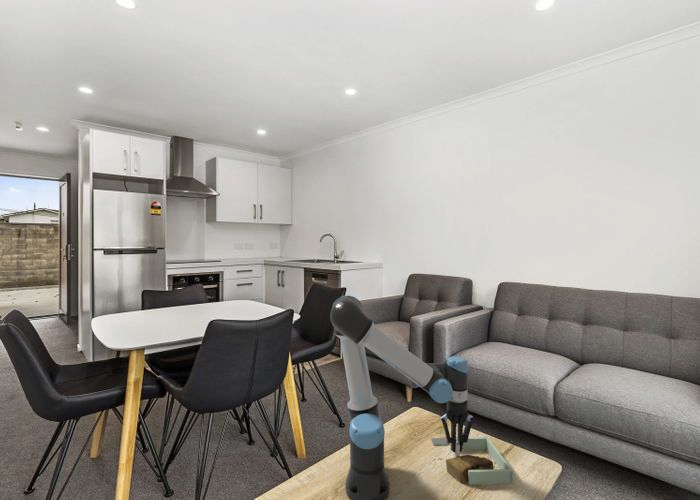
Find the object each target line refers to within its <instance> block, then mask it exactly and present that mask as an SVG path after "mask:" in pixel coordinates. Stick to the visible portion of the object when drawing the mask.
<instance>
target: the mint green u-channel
mask: <svg viewBox="0 0 700 500" xmlns="http://www.w3.org/2000/svg"><path fill="white" fill-rule="evenodd" d="M456 441H458V440H457V438H456ZM449 450H450V451H452V449H451V443H449ZM478 450H479V451H480V450H486V452H487V453H488V455H489V456H490V457H491V459H492V460H493V462H494V463H495V464H496V465H497V467H498V468H499V469H497V468H496V469H493V470H468V482H467V483H468V484H469V485H470V486H472V485H474V486H475V485H476V486H477V485H504V484H505V485H506V484H507V485H508V484H509V485H510V484H511V485H513V484H514V470H513V468H512V467H511V465H509V463H508V462H507V460H506V459H505V458H504V457H503V455H502V454H501V453H500V451H499V450H498V449H497V447H496V446H495V445H494V444H493V442H492V441H491V439H490V438H489V437H488V436H484V437H482V436H480V437H471V436H470V437H468V441H467V443H465V442H464V443H463V446H462V451H478Z"/></svg>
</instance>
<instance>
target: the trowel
mask: <svg viewBox="0 0 700 500" xmlns="http://www.w3.org/2000/svg"><path fill="white" fill-rule="evenodd" d="M450 438H451V436H450ZM456 438H458V436H456ZM430 440H431V443H432V445H433V446H448V445H449V443H448V441H447V439H446V437H433V438H432V437H431V438H430Z"/></svg>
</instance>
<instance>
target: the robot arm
mask: <svg viewBox="0 0 700 500" xmlns="http://www.w3.org/2000/svg"><path fill="white" fill-rule="evenodd" d="M329 314H330V315H329V316H330V317H329V319H330V323H331V324H332V326H333V329H334V335H335V336H336V337H337V338H339V340H340V345H341V351H342V356H343V357H342V358H343V363H344V364H343V365H344V370H345V375H346V381H347V382H346V383H347V388H348V393H349V401H348V402H347V403H346V404H347V406H346V407H347V412H348V417H349V454H350V455H349V457H350V458H349V464H350V465H349V470H348V473H347V476H346V479H345V483H344V484H345V485H344V486H345V494H346V496H347V497H348V498H349V499H350V500H386V499H387V498H388V496H389V495H390V491H391V490H390V480H389V477H388V474H387V470H386V467H385V434H386V433H385V426H384V422H383V421H382V417H381V411H380V407H379V402H378V401H379V400H378V399H377V397H376V396H374V395H373V391H372V390H373V389H372V384H371V378H370V372H369V365H368V360H367V355H366V349H367V350H369V351H371V352H372V353H374V355H376V356H377V357H379V358H380V359H381V360H382V361H384V362H386V363H387V364H388V365H390V366H391V367H392V368H393V369H395V370H396V371H398V372H399V373H401V374H402V375H403V376H405V377H406V378H408V379H409V380H410V381H411V382H413V383H414V384H416V385H417V386H419V387H420V388H421V389H422V390H424V392H426V393H427V394H429V396H430V397H431V399H432V400H433V401H434V402H436V403H438V404H446V410H445V412H444V413H445V414H444V415H440V416H439V419H440V421H441V422H442V427H443V430H444V431H443V432H444V434H445V439H447V441H448V444H450V443H451V449H452V450H451V451H452V453H453V458H455V457H458V456H461V455H460V454H461V453H462V452H463V450H462V446H463V443H464V442H465V443H467V441H468V438H470V437H469V436H470V432H471V428H472V426H473V424H474V422H475V417H473V415H472V414H470V413H469V411H468V392H469V391H468V383H469V382H468V380H469V379H468V376H469V371H468V370H469V369H468V367H469V366H468V361H467V359H466V358H465V357H461V356H457V355H456V356H455V355H452V356H449V357H448V358H447V359H446V362H443V363H441V362H440V363H439V362H438V363H437V362H436V363H435V362H433V363H432V362H431V363H430V362H429V363H428V362H427V363H426V362H424V361H423V360H422V359H420V358H419V357H417V356H416V355H415V354H414V353H412V352H411V351H409V350H408V349H406V348H405V347H404V346H403V345H401V344H400V343H398V342H397V341H396V340H395V339H393V338H392V337H390V335H388V334H386V333H385V332H384V331H383V330H381V329H380V328H379V327H376V325H375V323H374V320H372V319H371V318H369V317H368V315H366V313H364V309H363V305H362V303H361V301H360V300H359V299H358V298H357V297H354V296H352V295H342V296H340V297H338V298H337V299H336V300H334V302H333V304H332V306H331V310H330V313H329ZM365 348H366V349H365ZM448 420H449V422H450V430H449V425H448V424H447V423H448ZM465 421H466V422H465ZM464 423H465V425H464ZM450 437H451V438H450ZM456 437H458V438H457V440H458V441H456Z"/></svg>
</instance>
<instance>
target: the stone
mask: <svg viewBox="0 0 700 500" xmlns="http://www.w3.org/2000/svg"><path fill="white" fill-rule="evenodd" d="M493 462H494V461H492V460H491V459H489V458H487V457H482V456H477V455H471V454H463V455H460V456H458V457H455V458H454V457H452V458H448V459H445V464H446V472H447V473H448V474H449V476H452V477H453V478H454V479H455V480H458V482H460V483H462V484H464V483H465V484H466V483H468V470H493V469H494V463H493Z"/></svg>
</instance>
